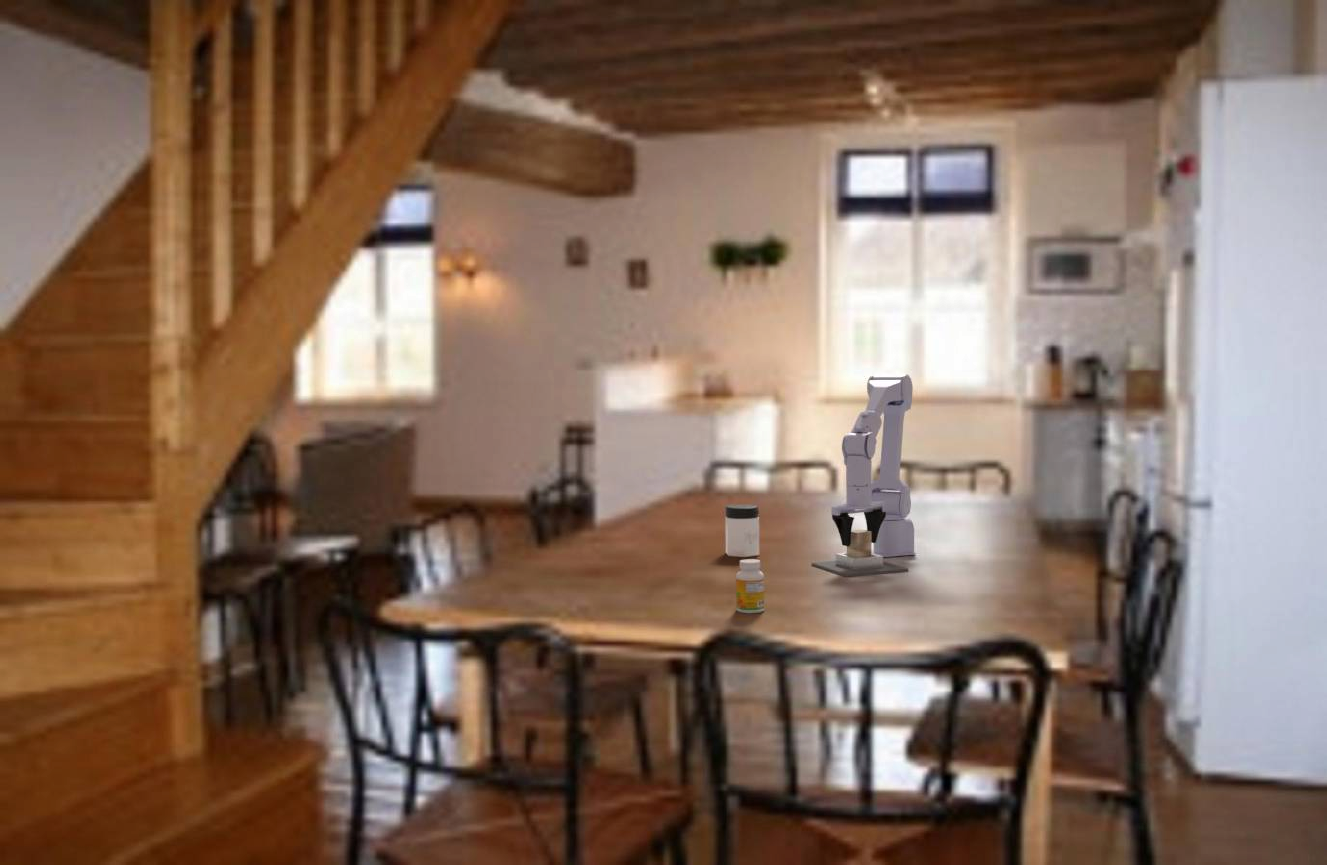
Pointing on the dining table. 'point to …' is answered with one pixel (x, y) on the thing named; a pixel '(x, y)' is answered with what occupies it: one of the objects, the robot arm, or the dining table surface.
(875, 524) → the robot arm
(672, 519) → the dining table surface
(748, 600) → the supplement bottle
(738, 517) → the jar
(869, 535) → the beige block
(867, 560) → the socket
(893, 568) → the mat
